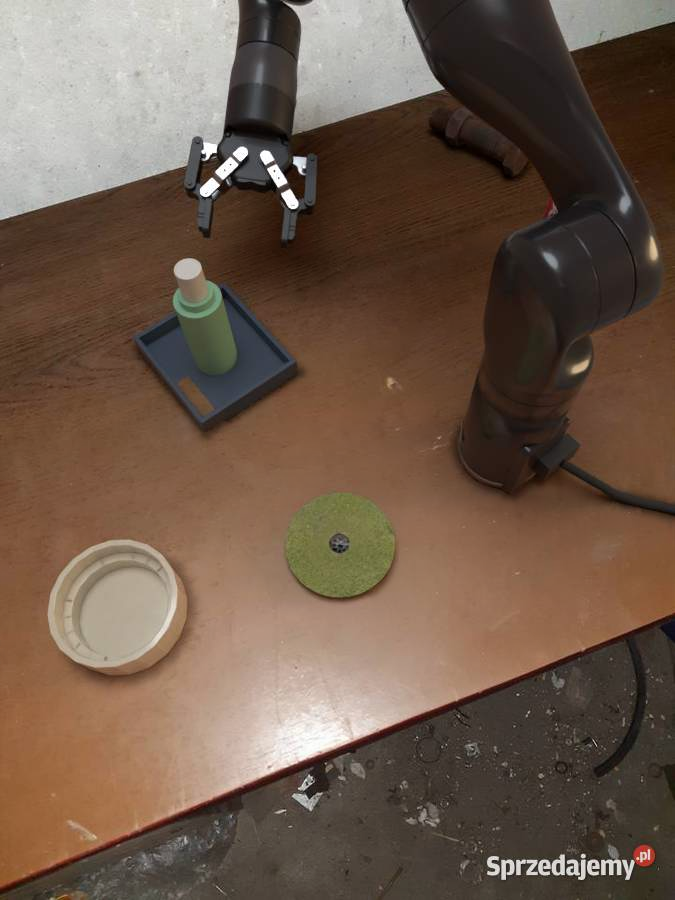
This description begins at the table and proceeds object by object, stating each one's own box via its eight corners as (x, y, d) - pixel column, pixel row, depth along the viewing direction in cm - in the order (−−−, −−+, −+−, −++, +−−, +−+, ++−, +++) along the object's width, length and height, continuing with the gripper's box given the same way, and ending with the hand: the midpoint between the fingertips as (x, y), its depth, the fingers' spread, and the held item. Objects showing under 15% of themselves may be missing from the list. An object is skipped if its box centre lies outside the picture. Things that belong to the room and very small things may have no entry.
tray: (298, 373, 82) (296, 361, 80) (205, 434, 79) (201, 423, 77) (227, 295, 88) (223, 282, 86) (138, 349, 85) (132, 337, 82)
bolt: (434, 135, 103) (521, 176, 98) (418, 136, 99) (507, 179, 94) (449, 94, 99) (539, 134, 94) (432, 93, 96) (525, 135, 91)
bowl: (211, 623, 69) (201, 611, 65) (105, 703, 66) (86, 696, 62) (149, 533, 74) (135, 516, 69) (46, 603, 71) (25, 590, 66)
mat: (392, 498, 75) (393, 491, 73) (396, 601, 70) (397, 596, 68) (288, 499, 75) (286, 492, 73) (285, 602, 70) (283, 597, 68)
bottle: (232, 378, 82) (206, 291, 68) (190, 373, 82) (155, 286, 68) (241, 342, 84) (218, 251, 70) (200, 337, 85) (169, 246, 71)
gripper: (193, 69, 73) (174, 218, 71) (327, 90, 74) (311, 236, 73) (201, 110, 80) (183, 245, 79) (322, 128, 81) (308, 261, 80)
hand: (245, 241), depth 76 cm, fingers open, 8 cm apart
